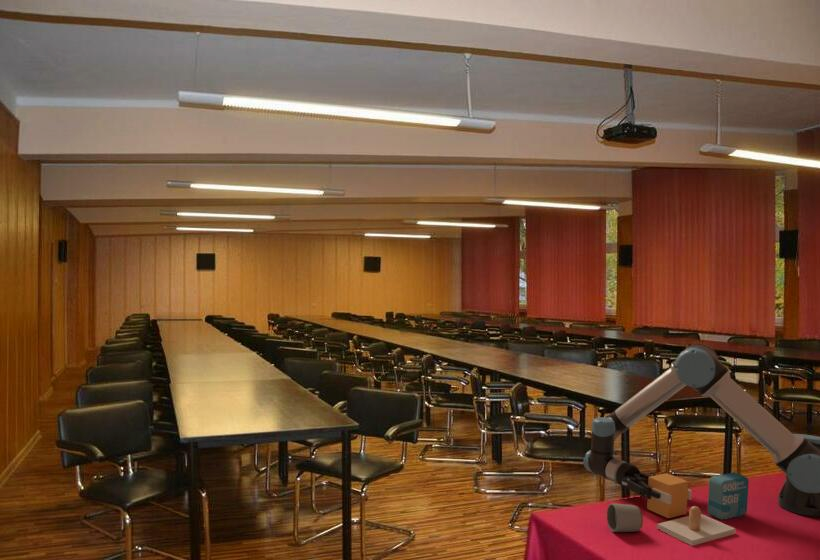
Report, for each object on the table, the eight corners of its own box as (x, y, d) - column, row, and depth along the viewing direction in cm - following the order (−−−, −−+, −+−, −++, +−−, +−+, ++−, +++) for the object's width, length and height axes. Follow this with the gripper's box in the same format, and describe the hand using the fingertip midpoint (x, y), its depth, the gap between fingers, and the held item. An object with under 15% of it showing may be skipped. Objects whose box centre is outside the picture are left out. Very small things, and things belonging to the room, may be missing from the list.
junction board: (699, 518, 205) (700, 492, 205) (735, 533, 195) (736, 506, 194) (657, 528, 196) (658, 501, 196) (692, 545, 186) (693, 517, 185)
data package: (719, 521, 204) (721, 481, 203) (706, 515, 208) (709, 476, 207) (747, 514, 209) (749, 476, 208) (734, 509, 213) (736, 471, 212)
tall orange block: (665, 504, 214) (666, 473, 213) (686, 513, 207) (688, 481, 206) (647, 508, 210) (648, 476, 209) (668, 518, 203) (669, 485, 202)
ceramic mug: (644, 535, 192) (645, 508, 191) (616, 536, 191) (617, 509, 190) (627, 520, 202) (628, 495, 202) (601, 521, 201) (602, 495, 201)
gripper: (645, 480, 229) (703, 503, 209) (599, 489, 219) (655, 515, 199) (646, 458, 228) (704, 479, 209) (599, 466, 219) (656, 490, 199)
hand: (680, 497), depth 204 cm, fingers closed on tall orange block, 8 cm apart
